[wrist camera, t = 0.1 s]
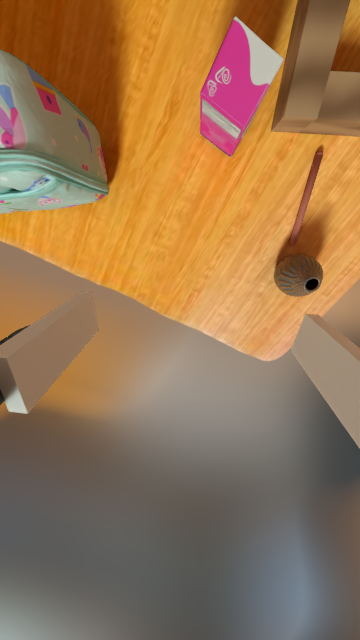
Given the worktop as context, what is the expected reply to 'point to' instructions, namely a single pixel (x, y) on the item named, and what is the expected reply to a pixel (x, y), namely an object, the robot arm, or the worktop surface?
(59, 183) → the lunch box
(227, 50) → the supplement box
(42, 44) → the worktop surface
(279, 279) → the vase
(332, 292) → the worktop surface
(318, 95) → the brown wooden square frame
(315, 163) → the reddish-brown thin rod
